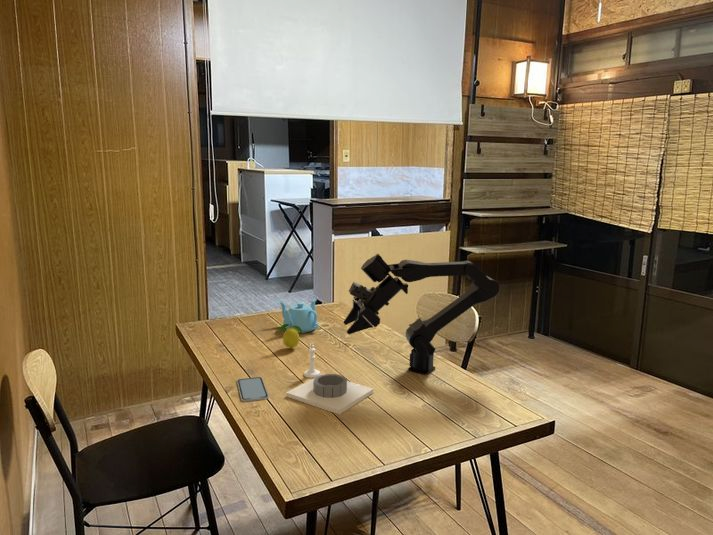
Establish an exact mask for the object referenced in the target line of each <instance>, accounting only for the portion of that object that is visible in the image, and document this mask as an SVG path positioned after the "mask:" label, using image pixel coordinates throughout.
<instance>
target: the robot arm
mask: <svg viewBox="0 0 713 535" xmlns="http://www.w3.org/2000/svg"><path fill="white" fill-rule="evenodd" d="M360 269H361V271H362V272H363V273H365V275H366V276H367V277H368V278H369V279H370V280H371V281H372V282H373V283H379V284H378V285H377V286H376V287H375V286H372V287H370V288H367V287H366V286H363V284H359V283H357V282H355V281H353V282H352V284H351V286H349V290H348V292H349V295H351V296H353V299H352V308H351V310H350V311H349V313H348V314H347V316H346V318H345V319H344V321H343V324H344V326H347V325H349V324H351V325H350V327H349V328H348V329H347V330H346V334H347V335H352V334H354V333H357V332H361V331H365V330H367V329H372V328H373V329H374V328H377V327H378V326H379V325H380V324H381V318H380V315H379V314H380V312H379V311H380V310H382V309H383V307H384V306H389V305H390V303H389V302H390V301H391V300H393V298H394V297H395V296H396V295H397V294H398V293H399V292H401V291H402V292H404V294H405V295H407V294H408V293H409V292H408V291H409V284H408V283H413V282H417V281H421V280H424V279H427V278H431V277H433V278H436V277H453V276H455V277H456V276H457V277H459V276H466V277H467V278H468V279H469V280H470V281H471V282H472V283H471V284H470V285H469V286H468V288H467V289H466V291H465V292H464V293H462V294H461V295H460V296H459V297H457V298H456V299H454V300H453V301H452V302H451V303H449V304H448V305H446V306H445V307H443V308H442V309H440V310H439V311H438V312H437V313H435V314H434V315H433V316H431V317H430V318H428V319H426V320H422V319H421V317H418V318H416V320H415V321H414V322H412V323H410V324H408V328H407V329H406V330H405V335H404V336H405V338H406V340H407V343H408V344H409V346H410V347H411V348H412V349H411V350H410V353H409V363H408V364H409V367H408V368H407V370H408V371H410V372H414V373H418V374H423V375H428V374H429V373H431V372H433V371H434V370H436V366H434V356H435V355H434V354H435V352H436V347H435V346H434V345H433V343H432V341H433V339H434V338H435V337H436V334H437V333H438V332H439V331H441V330H442V329H443V328H445V327H447V325H449V324H450V323H451V322H453V321H455V319H457V318H458V317H460V316H462V315H463V314H464V313H465V312H466V311H468V310H470V309H471V308H472V307H474V306H475V305H477V304H481V303H485V302H487V301H489V300H492V299H493V298H496V297H497V295H498V294H499V291H500V285H499V283H498V282H497V280H495V279H493V278H491V277H490V276H488V275H486V274H484V273H483V272H482V271H481V270H480V269H479V267H477V265H475V264H474V263H473V262H472V261H470V260H463V261H446V262H445V261H443V262H423V261H418V260H413V259H412V260H411V259H403V260H401V261H400V262H398V263H392V264H387V262H385V260H384V259H383V257H382V256H381V255H380V254H379V253H376V254H375V255H374V256H373V255H372V257H370V258H368V259H367V260H366V261H365V262H364V263H363V264H362V265H361V268H360ZM390 273H391V274H392V275H393V276H394V277H393V276H392V275H391V274H390ZM400 278H401V279H402V280H401V279H400Z"/></svg>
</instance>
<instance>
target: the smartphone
mask: <svg viewBox="0 0 713 535" xmlns="http://www.w3.org/2000/svg"><path fill="white" fill-rule="evenodd" d="M236 383H237V387H238V391H239V395H240V401H241V402H243V403H245V402H247V403H248V402H255V401H261V400H268V399H269V398H270V397H269V392H268V391H267V388H266V385H265V382H264V379H263V377H260V376H256V377H245V378H239V379H236Z"/></svg>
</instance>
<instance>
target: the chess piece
mask: <svg viewBox="0 0 713 535" xmlns="http://www.w3.org/2000/svg"><path fill="white" fill-rule="evenodd" d="M308 347H310V348H309V349H308V351H309V354H310V355H309V356H308V358H309V368H308V369H306V370H305V371H304V372H303V376H304V377H306V378H309V379H314V378H316V377H317V376H319V375H321V371H320V370H318V369H316V368H315V360H314V359H316V355H315V352H316V348H315V345H314V343H313V342H310V344H309V346H308Z"/></svg>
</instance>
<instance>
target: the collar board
mask: <svg viewBox="0 0 713 535" xmlns="http://www.w3.org/2000/svg"><path fill="white" fill-rule="evenodd" d="M285 394H286V395H285V396H286V397H287V398H289V399H293V400H295V401H298V402H301V403H305V404H307V405H310V406H314V407H316V408H319V409H323V410H325V411H328V412H331V413H334V414H337V415H341V414H343V413H344V412H345V411H347V410H349V409H350V408H352V407H354V406H355V405H357V404H358V403H360V402H361V401H363V400H365V399H367V398H368V397H369V396H371V395H372V394H374V388H372V387H369V386H365V385H362V384H358V383H355V382H351V381H348V379H347V378H346V377H345V376H344V375H341V374H338V373H337V374H336V373H325V374H324V373H322V374H321V373H320V375H319V376H317V377H315V378H311V379H310V380H308V381H306V382H304V383H302V384H299V385H298V386H297V387H294V388H292V389H290V390H288V391H286V393H285Z"/></svg>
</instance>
